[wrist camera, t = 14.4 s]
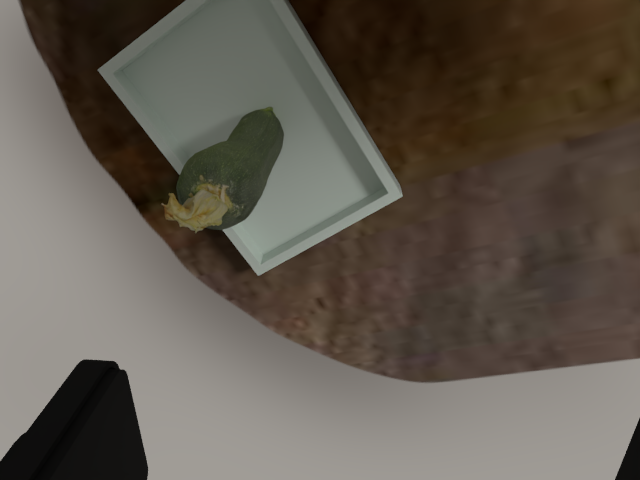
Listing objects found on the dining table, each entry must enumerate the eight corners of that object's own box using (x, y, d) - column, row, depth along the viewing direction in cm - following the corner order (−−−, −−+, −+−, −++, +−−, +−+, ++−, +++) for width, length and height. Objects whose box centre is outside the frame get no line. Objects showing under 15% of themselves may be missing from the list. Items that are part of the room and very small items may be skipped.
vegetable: (293, 151, 40) (243, 281, 22) (241, 159, 40) (150, 290, 23) (283, 95, 38) (219, 185, 20) (228, 103, 39) (118, 199, 21)
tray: (112, 65, 39) (97, 69, 36) (258, -49, 35) (251, -52, 32) (263, 262, 45) (258, 276, 43) (400, 185, 41) (402, 196, 39)
